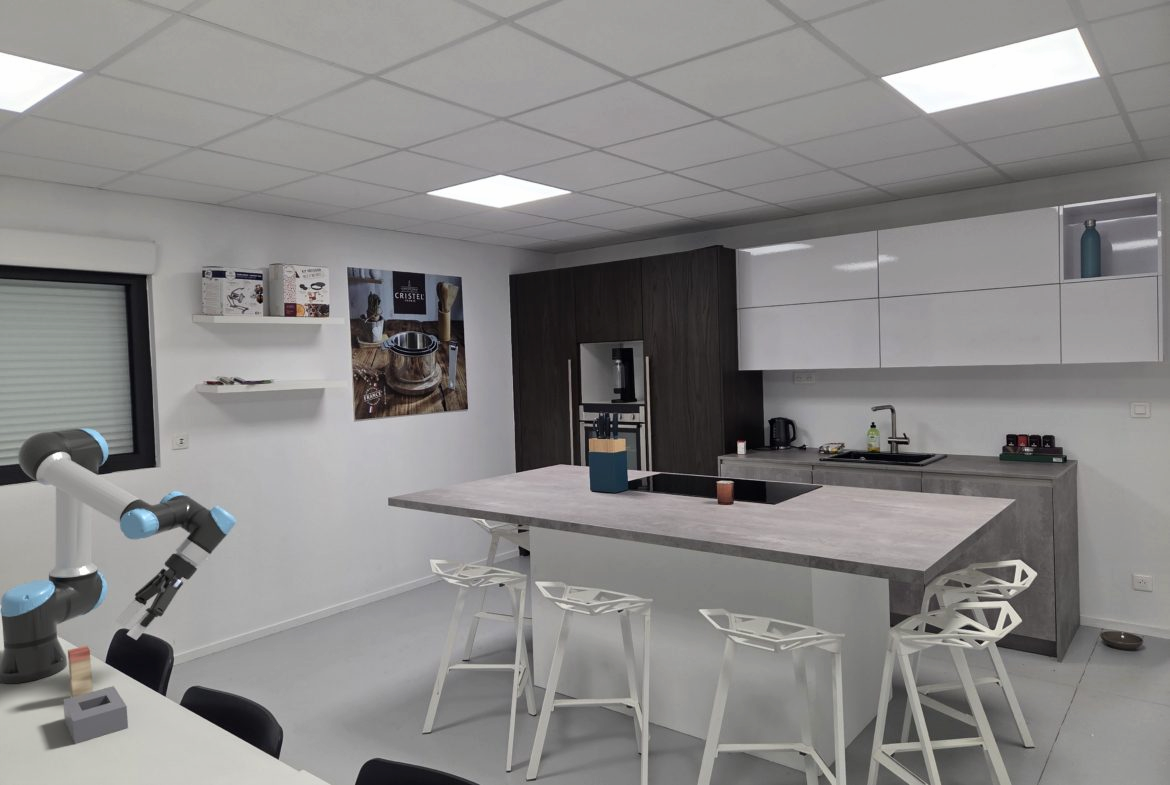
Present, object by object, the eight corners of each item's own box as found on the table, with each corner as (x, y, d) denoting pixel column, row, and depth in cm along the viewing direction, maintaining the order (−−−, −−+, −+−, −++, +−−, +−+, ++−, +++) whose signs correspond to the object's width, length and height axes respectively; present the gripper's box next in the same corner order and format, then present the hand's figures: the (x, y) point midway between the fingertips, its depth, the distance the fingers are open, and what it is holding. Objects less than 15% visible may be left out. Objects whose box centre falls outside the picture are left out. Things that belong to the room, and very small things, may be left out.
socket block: (64, 720, 174) (63, 699, 174) (114, 706, 181) (113, 685, 180) (74, 744, 163) (73, 721, 163) (128, 727, 169) (126, 706, 169)
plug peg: (71, 697, 186) (67, 650, 186) (90, 692, 189) (87, 645, 189) (73, 702, 183) (70, 654, 183) (92, 697, 186) (89, 649, 186)
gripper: (211, 576, 194) (149, 650, 185) (185, 559, 213) (127, 626, 203) (187, 560, 190) (123, 635, 181) (163, 544, 209) (103, 611, 200)
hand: (125, 630), depth 192 cm, fingers open, 13 cm apart
